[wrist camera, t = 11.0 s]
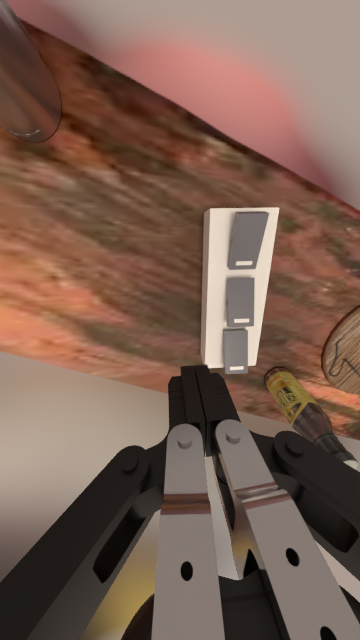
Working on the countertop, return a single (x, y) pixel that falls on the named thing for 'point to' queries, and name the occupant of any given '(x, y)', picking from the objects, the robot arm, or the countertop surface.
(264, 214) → the plate
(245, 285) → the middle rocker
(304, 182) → the countertop surface
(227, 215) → the switch console
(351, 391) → the trivet
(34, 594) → the robot arm
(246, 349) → the far rocker
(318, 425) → the sauce bottle
